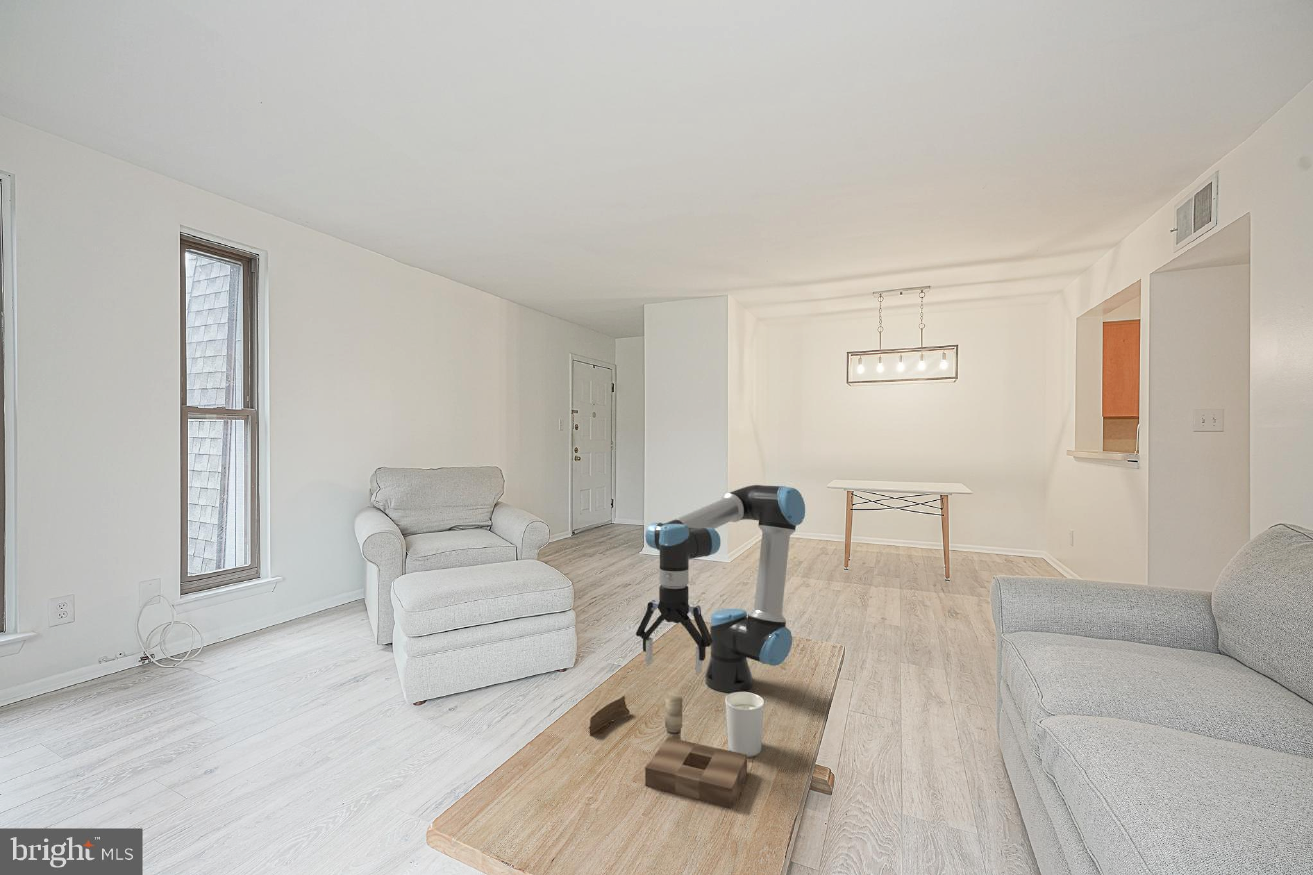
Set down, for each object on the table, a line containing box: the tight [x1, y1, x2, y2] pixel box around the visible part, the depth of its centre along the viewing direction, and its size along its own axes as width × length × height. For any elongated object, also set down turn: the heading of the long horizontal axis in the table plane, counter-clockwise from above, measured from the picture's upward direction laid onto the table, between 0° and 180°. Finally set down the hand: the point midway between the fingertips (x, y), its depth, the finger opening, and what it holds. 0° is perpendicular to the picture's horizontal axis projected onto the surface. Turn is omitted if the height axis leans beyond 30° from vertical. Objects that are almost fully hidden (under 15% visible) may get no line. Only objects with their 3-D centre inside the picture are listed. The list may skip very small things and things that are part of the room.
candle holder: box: [724, 691, 765, 758], centre depth 139 cm, size 10×10×12 cm
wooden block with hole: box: [644, 737, 748, 808], centre depth 126 cm, size 14×20×4 cm
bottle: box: [664, 693, 683, 740], centre depth 140 cm, size 4×4×12 cm
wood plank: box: [588, 694, 630, 736], centre depth 151 cm, size 15×2×5 cm, turn 145°
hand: (673, 668), depth 141 cm, fingers open, 13 cm apart
